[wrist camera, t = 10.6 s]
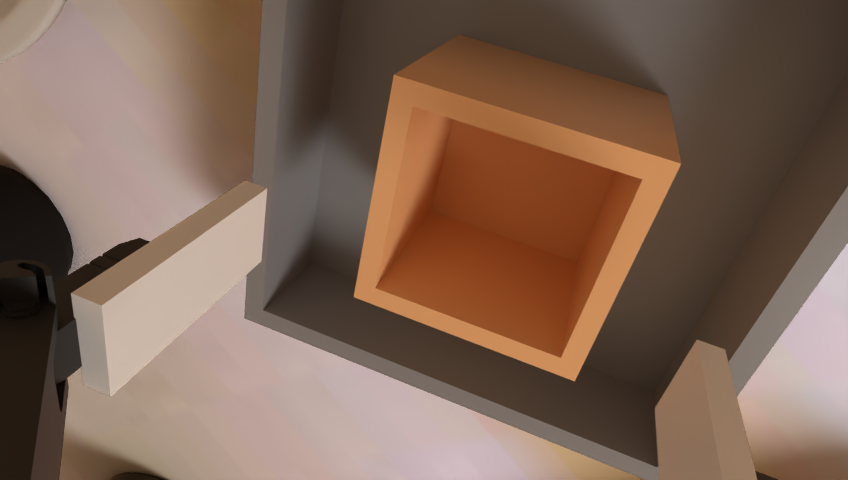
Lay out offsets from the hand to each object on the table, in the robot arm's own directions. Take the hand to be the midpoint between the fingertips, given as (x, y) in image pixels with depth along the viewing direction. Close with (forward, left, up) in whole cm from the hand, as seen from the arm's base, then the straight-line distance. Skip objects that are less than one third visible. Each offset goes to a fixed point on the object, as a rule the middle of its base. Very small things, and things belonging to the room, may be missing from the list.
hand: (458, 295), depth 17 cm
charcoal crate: (0, 0, -12) cm, 12 cm away
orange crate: (0, 0, -11) cm, 11 cm away
